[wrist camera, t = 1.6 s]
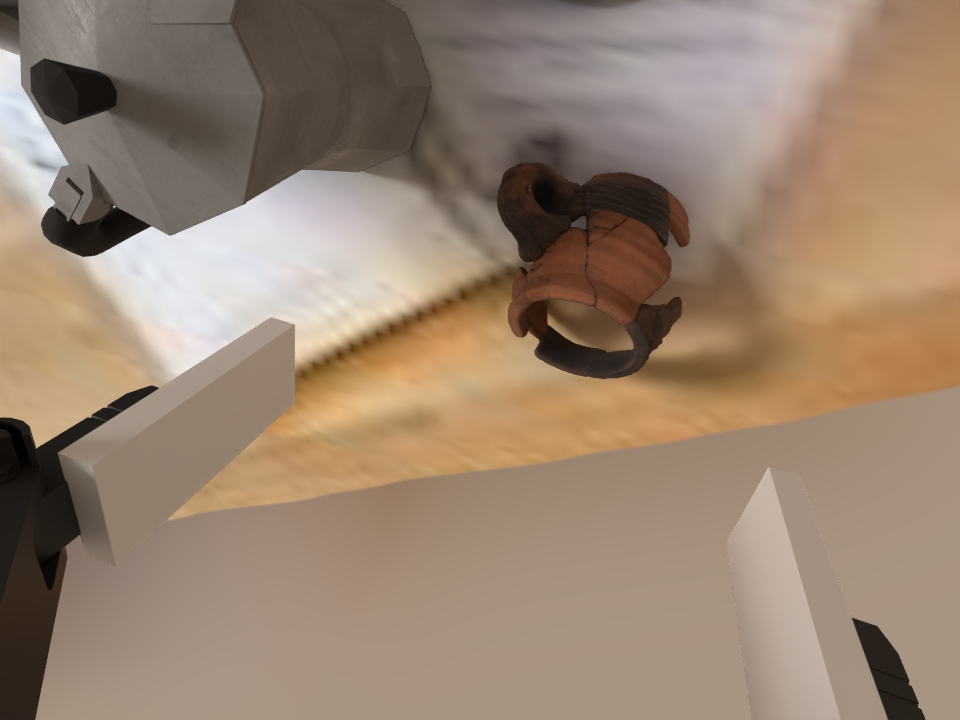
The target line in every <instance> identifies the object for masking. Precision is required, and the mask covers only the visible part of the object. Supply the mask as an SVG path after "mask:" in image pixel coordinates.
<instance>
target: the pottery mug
mask: <svg viewBox="0 0 960 720" xmlns="http://www.w3.org/2000/svg"><path fill="white" fill-rule="evenodd" d="M497 206H498V211H499V214H500V217H501V219H502V221H503V223H504V224H505V226H506V227H507V229H508V230H509V231H510V232H511V233H512V234H513V236H514V237H515V239H516V240H517V242H518V251H519V256H520V258H521V259H522V260H523V261H525V262H532V261H533V264H532V266H531V267H530V271H529V272H527V270H526V269H525V268H523V267H520V268H519V269H518V270H517V273H516V276H515V279H514V283H513V287H512V299H513V301H512V302H511V304H510V306H509V309H508V322H509V325H510V327H511V329H512V331H513V333H514V334H515V335H516V336H517V337H525V336H526V335H527V333H528V331H529V332H530V333H531V334H532V335H534V336H535V337H536V338H538V339H539V344H538V346H537V348H536V349H535V351H534V352H535V356H536V357H537V358H539V359H540V360H542V361H544V362H545V363H547V364H549V365H551V366H554V367H556V368H558V369H560V370H562V371H566V372H568V373H572V374H575V375H580V376H585V377H587V376H589V377H592V378H600V379H607V378H620V377H624V376H628V375H631V374H633V373H635V372H637V371H638V370H639V369H640V368H641V367H642V366H643V365H644V364H645V362H646V361H647V360H648V358H649V354H650V353H651V352H652V351H653V350H655V349H656V348H658V346H659V345H660V344H661V343H662V339H663V338H664V337H665V336H666V335H667V334H668V333H669V331H670V329H671V327H672V325H673V324H674V323H675V322H676V321H677V320H678V319H679V318H680V316H681V308H682V301H681V298H680V297H675V298H673V299H672V300H671V301H670V302H669V303H668V304H667V305H665V304H662V305H653V306H652V305H648V304H642V303H643V302H644V301H645V300H647V299H648V298H650V297H651V296H652V295H653V293H654V292H655V291H657V290H658V289H659V288H660V287H661V286H662V285H663V284H664V283H666V282H667V280H668V279H669V278H670V272H671V259H670V257H669V256H668V254H667V252H666V251H665V250H664V247H665V246H666V245H667V243H668V234H669V233H668V229H669V230H670V232H671V233H672V235H673V236H674V238H675V240H676V241H677V243H678V245H679V246H680V247H685V246H687V245H688V243H689V239H690V235H689V228H688V217H687V215H686V212H685V210H684V208H683V207H682V206H681V204H680V203H679V201H678V200H677V199H676V198H675V197H674V196H672V194H670V193H669V192H667V190H666V189H665V188H663V187H662V186H660V185H658V184H656V183H654V182H653V181H651V180H650V179H647V178H644V177H640V176H637V175H634V174H629V173H606V174H600V175H596V176H594V177H593V178H592V179H591V180H590V181H588V182H587V183H585V185H582V186H580V185H579V184H577V183H573V182H570V181H568V180H567V179H565V178H564V177H562V176H561V175H559V174H558V173H557V172H556V171H555V170H553V169H552V168H550V167H548V166H547V165H545V164H541V163H520V164H518V165H516V166H515V167H511V168H510V169H508V170H507V171H505V173H504V175H503V178H502V182H501V185H500V188H499V191H498V194H497ZM583 215H584V216H586V220H587V226H586V230H583V229H581V228H578V227H570V226H571V223H572V222H574V221H575V220H577V219H578V218H580V217H582V216H583ZM552 299H553V300H568V301H573V302H578V303H581V304H584V305H588V306H592V307H595V308H596V309H598V310H599V311H601V312H603V313H605V314H607V315H608V316H610V317H611V318H613V319H614V320H616V321H617V322H618V323H619V324H620V325H623V326H624V327H625V329H626V330H627V332H628V334H629V335H630V337H631V338H632V341H633V344H634V349H633V350H623V351H614V352H606V351H605V350H602V349H598V348H591V347H585V346H582V345H578V344H575V343H573V342H571V341H570V340H568V339H566V338H565V337H563V336H562V335H561V334H560V333H558V332H557V331H555V330H554V329H553V328H552V327H551V326H549V325H548V323H547V306H546V304H545V303H544V302H543V301H541V300H552Z"/></svg>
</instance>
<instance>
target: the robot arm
mask: <svg viewBox="0 0 960 720" xmlns="http://www.w3.org/2000/svg"><path fill="white" fill-rule="evenodd" d="M0 48H1V49H4V50H6V51H9V52H12V53H15V54H17V55H20V32H19V6H18V0H0ZM294 403H295V324H291V323H288V322H285V321H281V320H278V319H275V318H269V319H268V320H266V321H264V322H263V323H261V324H260V325H258V326H257V327H255V328H253V329H252V330H250V331H249V332H247V333H246V334H244V335H242V336H241V337H239V338H238V339H236V340H235V341H233V342H231V343H230V344H228V345H227V346H225V347H224V348H222V349H220V350H219V351H217V352H216V353H214V354H213V355H211V356H209V357H208V358H206V359H205V360H203V361H202V362H200V363H198V364H197V365H195V366H194V367H192V368H191V369H189V370H187V371H186V372H184V373H183V374H181V375H180V376H178V377H176V378H175V379H173V380H172V381H170V382H169V383H167V384H165V385H164V386H162V387H161V388H158V387H155V386H152V385H151V386H148V387H145V388H142V389H139V390H136V391H133V392H130V393H127V394H125V395H124V396H122V397H120V398H119V399H117V400H115V401H114V402H112V403H111V404H109V405H108V407H107V408H102V409H101V410H99V411H97V412H96V413H94V414H92V417H91V418H89V417H87V418H86V419H84V420H82V421H81V422H79V423H78V424H76V425H74V426H73V427H71V428H69V429H68V430H66V431H64V432H63V433H61V434H59V435H58V436H56V437H54V438H53V439H51V440H50V441H48V442H46V443H45V444H43V445H41V446H40V447H38V448H36V446H35V443H34V439H33V436H32V433H31V429H30V426H28V425H27V424H26V423H25V422H24V421H22V420H18V419H14V418H0V720H35V718H36V713H37V708H38V702H39V698H40V693H41V688H42V683H43V677H44V672H45V668H46V663H47V658H48V652H49V647H50V642H51V637H52V632H53V627H54V622H55V617H56V612H57V607H58V602H59V596H60V592H61V587H62V582H63V577H64V572H65V567H66V562H67V552H66V548H65V546H66V545H67V544H69V543H70V542H71V541H72V540H74V539H75V538H76V537H77V536H79V535H80V537H81V540H82V544H83V547H84V551H85V554H86V555H89V556H91V557H94V558H96V559H99V560H101V561H104V562H107V563H109V564H111V565H114V566H117V565H118V564H119V563H120V562H121V561H123V560H124V559H125V558H126V557H127V556H128V555H129V554H130V553H131V552H132V551H134V550H135V549H136V548H137V547H138V546H139V545H140V544H141V543H142V542H143V541H144V540H146V539H147V538H148V537H149V536H150V535H151V534H152V533H153V532H154V531H155V530H156V529H158V528H159V527H160V526H161V525H162V524H163V523H164V522H165V521H166V520H167V519H169V518H170V517H171V516H172V515H173V514H174V513H175V512H176V511H177V510H178V509H179V508H181V507H182V506H183V505H184V504H185V503H186V502H187V501H188V500H189V499H190V498H192V497H193V496H194V495H195V494H196V493H197V492H198V491H199V490H200V489H201V488H202V487H204V486H205V485H206V484H207V483H208V482H209V481H210V480H211V479H212V478H213V477H214V476H216V475H217V474H218V473H219V472H220V471H221V470H222V469H223V468H224V467H225V466H227V465H228V464H229V463H230V462H231V461H232V460H233V459H234V458H235V457H236V456H237V455H239V454H240V453H241V452H242V451H243V450H244V449H245V448H246V447H247V446H248V445H249V444H251V443H252V442H253V441H254V440H255V439H256V438H257V437H258V436H259V435H260V434H262V433H263V432H264V431H265V430H266V429H267V428H268V427H269V426H270V425H271V424H272V423H274V422H275V421H276V420H277V419H278V418H279V417H280V416H281V415H282V414H283V413H284V412H286V411H287V410H288V409H289V408H290V407H291V406H292V405H293V404H294ZM726 548H727V554H728V561H729V568H730V575H731V582H732V589H733V596H734V602H735V609H736V616H737V622H738V630H739V637H740V643H741V650H742V657H743V663H744V670H745V678H746V684H747V691H748V698H749V705H750V712H751V719H752V720H925V717H924V715H923V713H922V710H921V709H920V708H918V704H919V703H918V700H917V698H916V695H915V693H914V691H913V688H912V686H910V685H909V679H908V676H907V674H906V671H905V669H904V666H903V664H902V662H901V659H900V657H899V654H898V653H897V651H896V650H895V649H894V648H893V646H892V645H891V643H890V642H889V641H888V640H887V638H886V637H885V636H884V634H883V633H882V632H881V630H880V629H879V628H878V627H877V626H875V625H872V624H869V623H866V622H863V621H860V620H857V619H854V618H851V615H850V612H849V609H848V607H847V604H846V601H845V598H844V595H843V592H842V590H841V587H840V584H839V581H838V578H837V576H836V573H835V570H834V567H833V565H832V562H831V559H830V556H829V553H828V550H827V547H826V545H825V542H824V539H823V536H822V533H821V531H820V528H819V525H818V522H817V520H816V517H815V514H814V511H813V508H812V506H811V503H810V500H809V497H808V494H807V491H806V489H805V486H804V483H803V480H802V477H801V476H799V475H795V474H792V473H789V472H785V471H782V470H779V469H775V468H772V467H768V469H767V471H766V473H765V475H764V476H763V478H762V480H761V482H760V484H759V485H758V487H757V489H756V491H755V492H754V494H753V496H752V498H751V499H750V501H749V503H748V505H747V507H746V508H745V510H744V512H743V514H742V516H741V517H740V519H739V521H738V523H737V524H736V526H735V528H734V530H733V531H732V533H731V535H730V537H729V539H728V540H727V542H726Z"/></svg>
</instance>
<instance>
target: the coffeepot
mask: <svg viewBox="0 0 960 720" xmlns="http://www.w3.org/2000/svg"><path fill="white" fill-rule="evenodd" d="M18 6H19V32H20V58H21V85H22V87H23V88H24V90H25V92H26V93H27V95H28V97H29V98H30V100H31V102H32V103H33V105H34V107H35V108H36V110H37V112H38V113H39V115H40V117H41V118H42V120H43V122H44V123H45V125H46V127H47V128H48V130H49V132H50V133H51V135H52V137H53V138H54V140H55V142H56V143H57V145H58V147H59V148H60V150H61V152H62V153H63V155H64V157H65V158H66V160H67V162H68V163H69V165H68V166H62V167H61V168H60V171H59V173H58V175H57V177H56V179H55V181H54V183H53V185H52V188H51V190H50V192H49V194H48V195H49V196H50V197H51V198H52V199H53V200H54V201H55V204H54V206H52V207H50V208H49V209H48V210H47V212H46V213H45V215H44V217H43V219H42V222H41V226H42V230H43V234H44V236H45V237H46V238H47V239H48V240H49V241H50V242H51V243H53V244H55V245H57V246H59V247H61V248H64V249H66V250H68V251H70V252H72V253H74V254H77V255H80V256H82V257H87V256H95V255H98V254H100V253H102V252H104V251H106V250H108V249H110V248H112V247H114V246H115V245H117V244H119V243H121V242H123V241H124V240H126V239H128V238H130V237H132V236H133V235H135V234H137V233H139V232H141V231H143V230H145V229H147V228H149V227H151V226H153V227H155V228H156V229H158V230H160V231H162V232H164V233H166V234H168V235H169V236H170V235H173V234H176V233H178V232H180V231H183V230H185V229H187V228H190V227H192V226H194V225H197V224H199V223H201V222H204V221H206V220H208V219H211V218H213V217H215V216H218V215H220V214H222V213H225V212H227V211H230V210H232V209H234V208H237V207H239V206H241V205H244V204H246V202H247V201H249V200H251V199H253V198H254V197H256V196H258V195H259V194H261V193H263V192H264V191H266V190H268V189H269V188H271V187H273V186H275V185H276V184H278V183H280V182H281V181H283V180H285V179H286V178H288V177H290V176H291V175H293V174H295V173H297V172H298V171H300V170H302V169H304V170H326V171H348V172H359V171H362V170H364V169H367V168H369V167H371V166H374V165H376V164H379V163H381V162H384V161H386V160H388V159H391V158H393V157H396V156H398V155H400V154H403V153H405V152H408V151H410V149H411V146H412V143H413V140H414V137H415V134H416V132H417V130H418V127H419V125H420V123H421V121H422V118H423V114H424V110H425V106H426V101H427V98H428V95H429V92H430V90H431V87H432V85H431V82H430V79H429V76H428V74H427V71H426V68H425V64H424V60H423V56H422V53H421V50H420V47H419V45H418V43H417V41H416V39H415V36H414V34H413V32H412V30H411V27H410V24H409V22H408V19H407V16H406V13H405V12H403V11H402V10H400V9H398V8H396V7H394V6H392V5H390V4H388V3H386V2H384V1H383V0H18ZM113 206H116V207H115V208H113Z"/></svg>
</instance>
